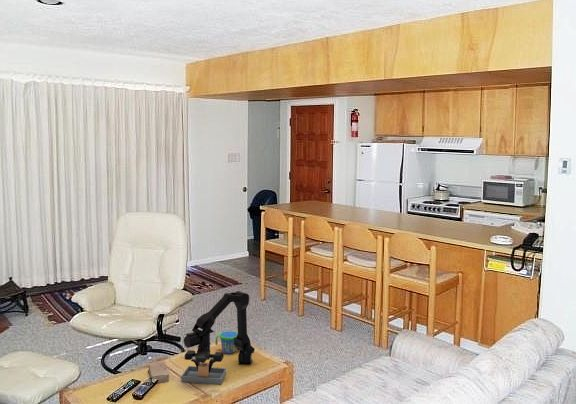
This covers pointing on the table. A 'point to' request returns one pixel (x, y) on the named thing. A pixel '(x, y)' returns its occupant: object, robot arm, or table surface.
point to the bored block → (203, 369)
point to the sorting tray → (213, 378)
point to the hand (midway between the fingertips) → (204, 372)
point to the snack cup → (227, 341)
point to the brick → (159, 371)
